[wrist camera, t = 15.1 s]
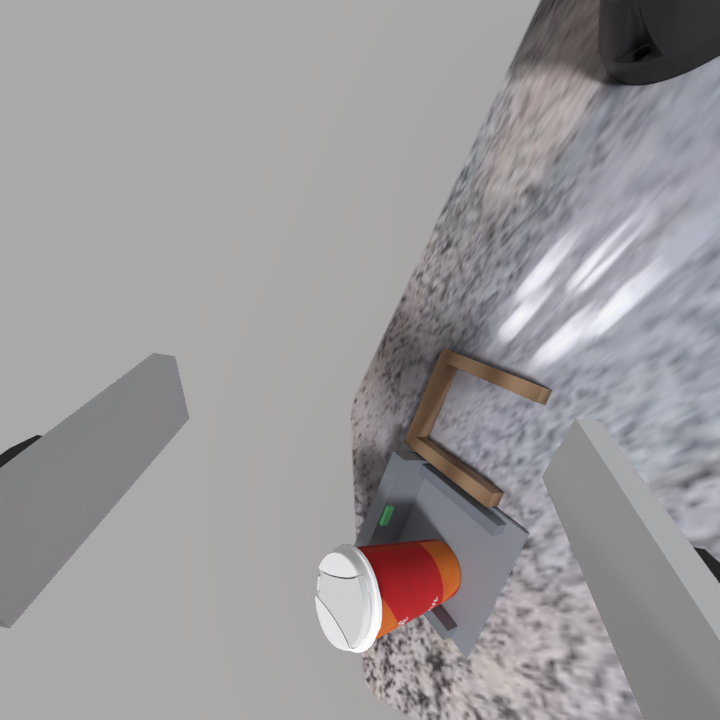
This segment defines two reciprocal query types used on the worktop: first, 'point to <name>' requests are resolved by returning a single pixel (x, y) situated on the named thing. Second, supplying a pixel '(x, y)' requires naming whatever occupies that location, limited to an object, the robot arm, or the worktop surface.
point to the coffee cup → (382, 588)
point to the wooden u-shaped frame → (430, 411)
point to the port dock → (446, 539)
